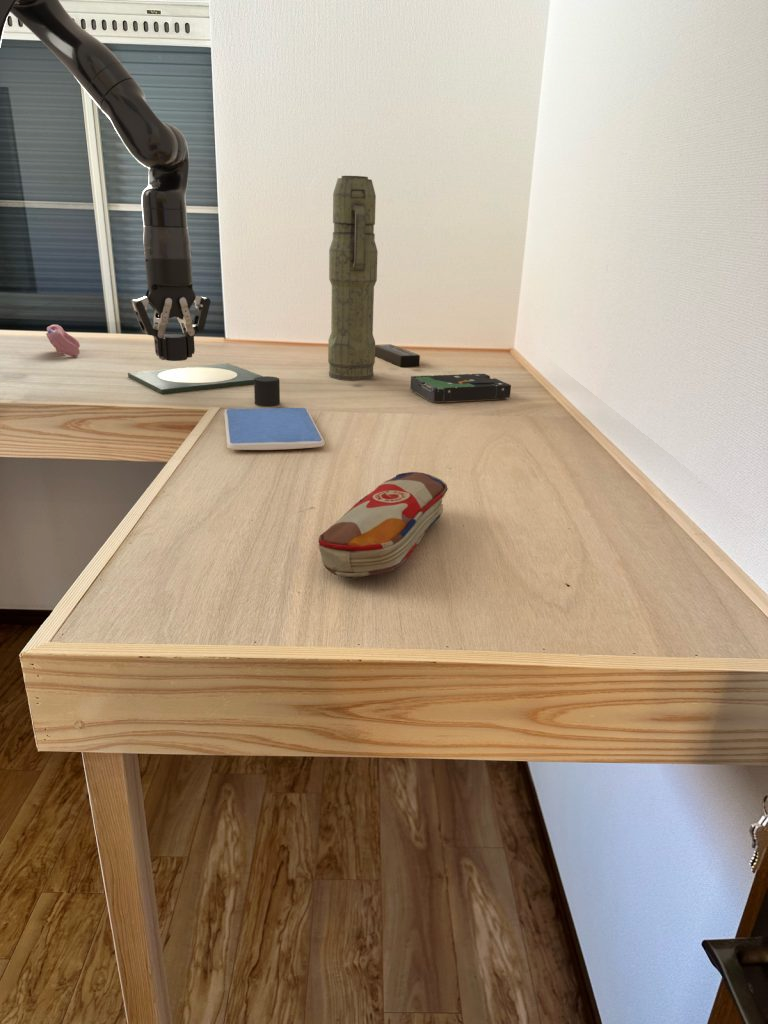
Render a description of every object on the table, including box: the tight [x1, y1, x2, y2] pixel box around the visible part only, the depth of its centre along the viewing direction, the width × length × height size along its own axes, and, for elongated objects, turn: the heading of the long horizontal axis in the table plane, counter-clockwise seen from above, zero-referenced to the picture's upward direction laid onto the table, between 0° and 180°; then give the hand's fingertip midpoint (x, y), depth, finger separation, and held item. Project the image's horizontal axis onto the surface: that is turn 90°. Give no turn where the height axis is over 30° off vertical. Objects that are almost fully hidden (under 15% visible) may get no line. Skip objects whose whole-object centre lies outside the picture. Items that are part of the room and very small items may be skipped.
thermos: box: [327, 175, 378, 381], centre depth 134 cm, size 9×12×35 cm
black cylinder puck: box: [253, 375, 281, 407], centre depth 117 cm, size 4×4×4 cm
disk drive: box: [409, 373, 512, 403], centre depth 127 cm, size 10×3×15 cm
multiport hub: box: [375, 343, 421, 368], centre depth 157 cm, size 4×14×2 cm, turn 25°
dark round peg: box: [164, 333, 188, 362], centre depth 128 cm, size 4×4×4 cm
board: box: [127, 363, 263, 395], centre depth 132 cm, size 20×16×1 cm
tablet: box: [223, 407, 326, 451], centre depth 101 cm, size 19×13×1 cm, turn 13°
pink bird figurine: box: [45, 324, 81, 357], centre depth 151 cm, size 10×5×7 cm, turn 21°
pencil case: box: [318, 471, 449, 580], centre depth 67 cm, size 11×20×5 cm, turn 146°
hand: (175, 357), depth 129 cm, fingers closed on dark round peg, 4 cm apart
